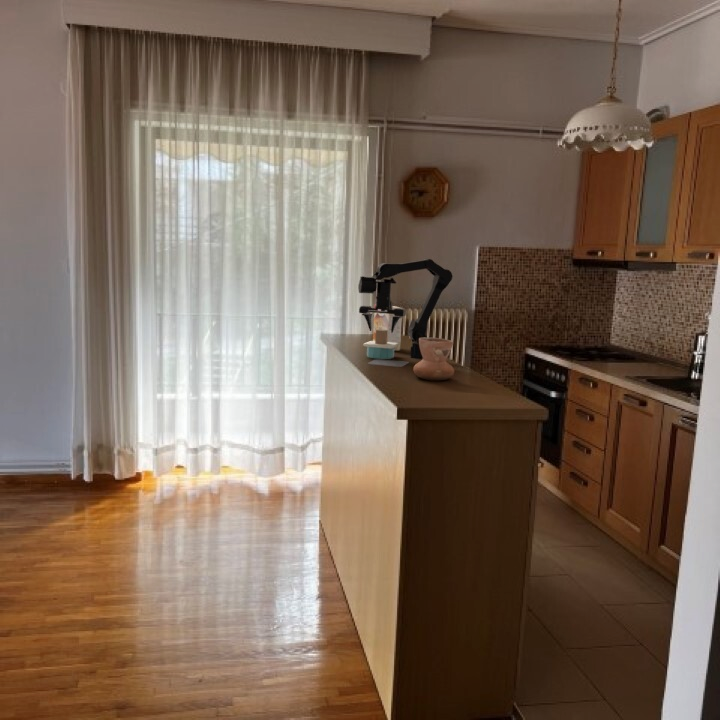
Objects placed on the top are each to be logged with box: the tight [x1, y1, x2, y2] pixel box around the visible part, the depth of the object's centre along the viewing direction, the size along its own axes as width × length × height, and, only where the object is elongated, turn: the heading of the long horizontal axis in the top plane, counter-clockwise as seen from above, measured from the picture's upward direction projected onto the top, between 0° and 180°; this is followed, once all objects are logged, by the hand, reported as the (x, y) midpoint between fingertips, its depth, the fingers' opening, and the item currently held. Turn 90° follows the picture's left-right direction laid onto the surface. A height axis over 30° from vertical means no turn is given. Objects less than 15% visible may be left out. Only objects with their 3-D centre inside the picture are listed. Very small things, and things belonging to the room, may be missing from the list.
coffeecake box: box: [372, 304, 403, 352], centre depth 323 cm, size 15×7×20 cm, turn 25°
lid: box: [362, 329, 398, 349], centre depth 294 cm, size 12×12×6 cm
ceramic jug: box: [413, 337, 455, 382], centre depth 251 cm, size 18×14×14 cm
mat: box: [366, 358, 410, 368], centre depth 280 cm, size 14×14×1 cm
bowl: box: [366, 346, 395, 360], centre depth 295 cm, size 11×11×5 cm
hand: (381, 331), depth 293 cm, fingers open, 9 cm apart
